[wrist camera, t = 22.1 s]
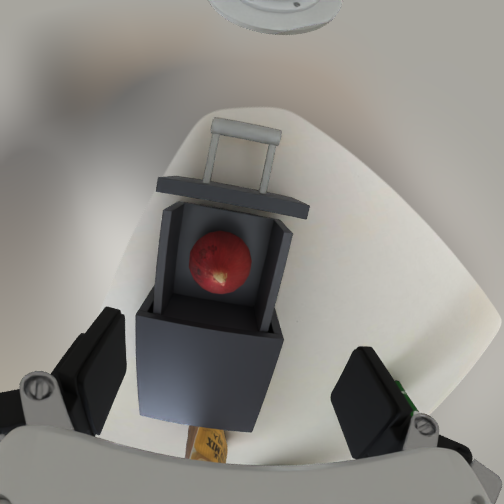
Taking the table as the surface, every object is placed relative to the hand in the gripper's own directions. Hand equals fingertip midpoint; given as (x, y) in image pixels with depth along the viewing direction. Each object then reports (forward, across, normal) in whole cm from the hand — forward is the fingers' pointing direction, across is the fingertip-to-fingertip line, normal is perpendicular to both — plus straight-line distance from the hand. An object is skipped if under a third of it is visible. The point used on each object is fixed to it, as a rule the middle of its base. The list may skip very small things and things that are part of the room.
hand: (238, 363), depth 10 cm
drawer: (+21, +1, -1) cm, 21 cm away
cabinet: (+22, +1, +15) cm, 26 cm away
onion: (+20, +1, +2) cm, 20 cm away
